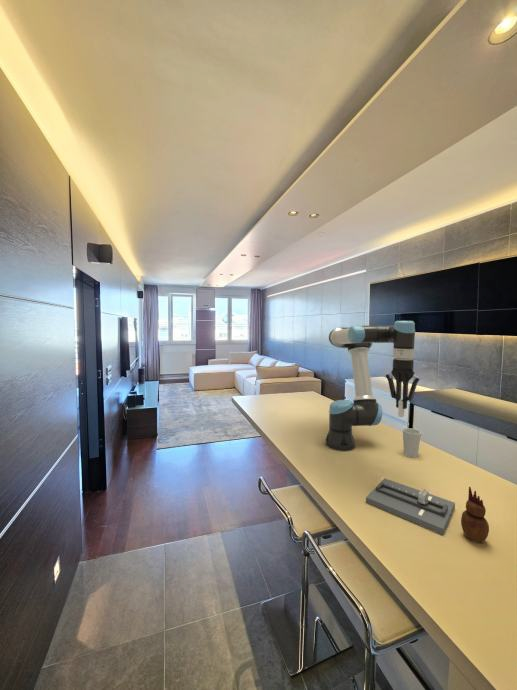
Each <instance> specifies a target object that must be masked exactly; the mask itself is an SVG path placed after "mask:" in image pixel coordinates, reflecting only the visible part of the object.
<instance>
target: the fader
mask: <svg viewBox="0 0 517 690" xmlns="http://www.w3.org/2000/svg"><path fill="white" fill-rule="evenodd" d="M428 493H429V490H428V489H426V488H421V489H420V492H419V494H418V500H417V503H419V504H422V505H425V506H427V507H428V505H429V500H428Z"/></svg>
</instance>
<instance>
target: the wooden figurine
mask: <svg viewBox="0 0 517 690" xmlns="http://www.w3.org/2000/svg"><path fill="white" fill-rule="evenodd" d="M486 512H487V511H486V507H485V505H484V501H483V499H481V496H480V495H478V496H477V491H476V490H474V492H472V488H471V486H469V487H468V499H467V500H466V502H465V510H464V511H462V514H461V518H460V524H461V525H460V526H461V529H462V531H463V533H464V535H465V537H466V538H468V539H469V540H471V542H472V541H473V542H475V543H478V544H479V543H483V542H485V541H486V540H487V539H488V536H489V532H490V526H489V525H490V524H489V522H488V521H487V520H488V519H486V517H485V516H486Z"/></svg>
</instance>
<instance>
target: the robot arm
mask: <svg viewBox="0 0 517 690" xmlns="http://www.w3.org/2000/svg"><path fill="white" fill-rule="evenodd" d="M415 325H416V323H415V322H414V321H413V320H396V321H394V325H390V324H388V325H387V324H386V325H359V324H357V325H351V326H349V327H344V326H343V327H337V328H334V329H332V330H331V331H330V332H329V334H328V342H329V343H330V344H331V345H332V346H334V347H335V348H341V349H347V352H348V354H350V356H351V364H352V375H353V384H354V390H355V397H354V399H353V400H352V401H351V400H350V399H338V400H334V401H332V402H331V403H330V404H329V408H328V409H329V410H328V413H329V414H328V415H329V416H328V418H329V423H328V425H329V426H328V432H327V434H326V438H325V446H326V447H328V448H329V449H332V450H336V451H340V452H341V451H343V452H347V451H351V450H354V449H355V448H356V440H355V438H354V435H353V427H359V426H360V427H362V426H363V427H364V426H365V427H366V426H368V427H371V426H378V425H379V424H381V421H382V418H383V408H382V405H381V404H380V402H377V398H376V397H374V396H373V389H372V379H371V373H370V364H369V358H368V357H369V356H368V352H369V351H370V349H371V348H372V346H373V344H374V343H375V344H376V343H377V344H388V343H390V344H393V350H392V351H393V352H392V353H393V355H392V357H393V360H392V369H391V372H389V373H387V374H385V378H386V379H387V381H388V382H387V383H388V386H389V392H390V396H391V398H392V399H394V400H395V407H396V408H397V409H398V411H397V415H398V418H399V417H400V418H404V416H405V410H406V409H407V408H408V402H409V401H412V400H413V398H414V395H415V392H416V389H417V386H418V383H419V382H420V380H421V377H418V376H417V375H416V374H415V371H414V360H413V359H414V357H415V337H416V336H415V335H416V327H415ZM393 378H394V379H395V382H394V379H393ZM411 379H412V383H411V386H410V390H409V382H410V380H411ZM395 385H396V387H395Z"/></svg>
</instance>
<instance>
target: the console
mask: <svg viewBox="0 0 517 690" xmlns="http://www.w3.org/2000/svg"><path fill="white" fill-rule="evenodd" d="M420 491H421V489H417V488H414V487H411V486H408V485H406V484H403V483H400V482H397V481H393V480H391V479H389V478H383V479H382V480H381V481H380V482H379V483H378V484H377V485H376V486H375V487H374V489H372V491H370V493H369V494H368V495H367V496H365V503H367V504H369V505H371V506H373V507H375V508H378V509H381V510H383V511H384V512H387V513H390V514H392V515H395V516H397V517H398V518H401V519H403V520H407V521H408V522H411V523H413V524H416V525H418V526H420V527H423V528H426V529H428V530H430V531H432V532H435V533H437V534H439V535H442V536H444V534H445V533H446V529H447V527H448V524H449V523H450V521H451V517H452V515H453V513H454V511H455V508H456V502H454V501H452V500H448V499H445V498H443V497H440V496H437V495H434V494H431V493H429V492H428V500H429V505H428V507H427V506H425V505H422V504H419V503H417V500H418V494H419V492H420Z"/></svg>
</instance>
